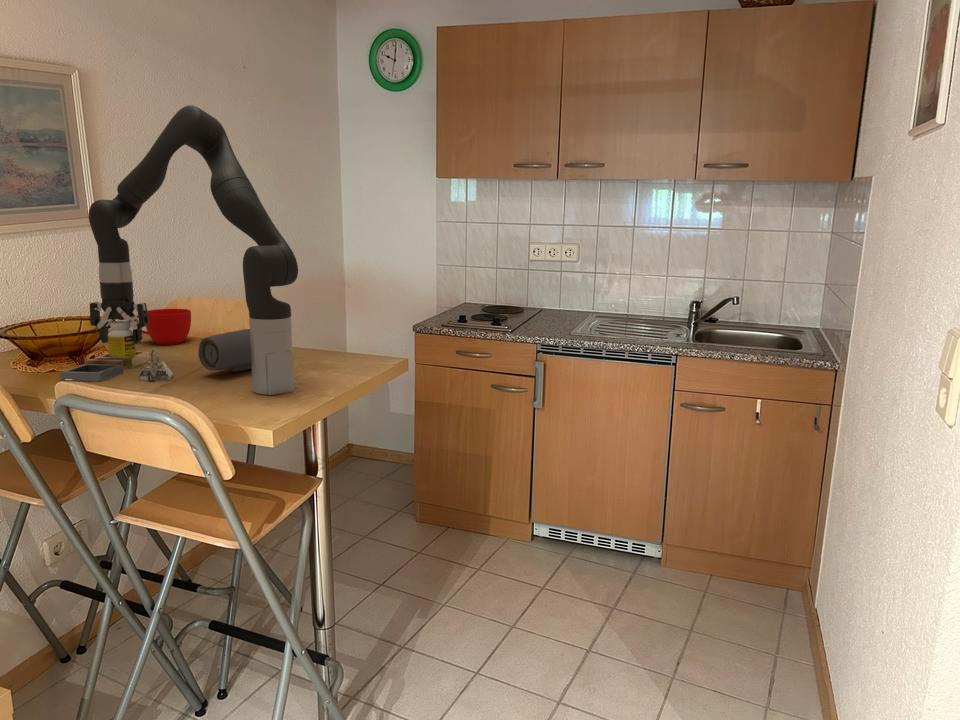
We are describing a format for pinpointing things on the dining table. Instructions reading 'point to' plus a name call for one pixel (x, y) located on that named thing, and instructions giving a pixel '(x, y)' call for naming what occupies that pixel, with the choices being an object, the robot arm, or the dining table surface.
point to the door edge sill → (105, 362)
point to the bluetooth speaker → (226, 351)
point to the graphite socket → (92, 372)
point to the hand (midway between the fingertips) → (121, 342)
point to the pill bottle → (121, 340)
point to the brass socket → (128, 359)
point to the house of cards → (152, 372)
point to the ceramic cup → (168, 325)
